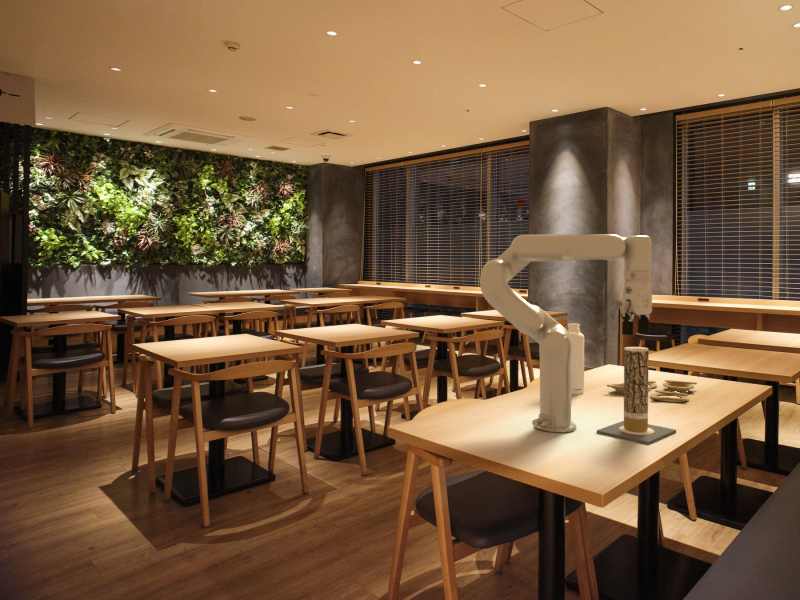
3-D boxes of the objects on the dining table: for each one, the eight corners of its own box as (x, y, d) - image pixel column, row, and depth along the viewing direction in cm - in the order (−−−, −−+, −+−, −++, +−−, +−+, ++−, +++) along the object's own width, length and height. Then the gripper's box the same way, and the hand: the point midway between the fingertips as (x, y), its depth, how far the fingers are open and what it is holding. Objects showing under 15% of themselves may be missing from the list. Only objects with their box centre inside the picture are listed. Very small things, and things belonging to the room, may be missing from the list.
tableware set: (684, 406, 205) (684, 395, 205) (602, 396, 223) (603, 386, 223) (701, 389, 233) (701, 380, 233) (627, 382, 251) (628, 373, 251)
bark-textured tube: (650, 433, 168) (651, 349, 166) (626, 432, 169) (626, 349, 168) (645, 427, 174) (645, 346, 173) (621, 426, 176) (622, 346, 175)
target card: (648, 444, 160) (648, 441, 160) (596, 432, 172) (596, 430, 172) (676, 432, 172) (676, 429, 172) (626, 422, 184) (626, 419, 184)
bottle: (581, 395, 224) (581, 325, 223) (560, 392, 229) (561, 324, 227) (586, 391, 231) (586, 323, 230) (566, 389, 236) (566, 322, 234)
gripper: (635, 277, 161) (633, 336, 162) (662, 276, 172) (661, 332, 173) (610, 277, 167) (609, 334, 168) (638, 276, 178) (637, 330, 179)
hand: (635, 333), depth 170 cm, fingers open, 9 cm apart
